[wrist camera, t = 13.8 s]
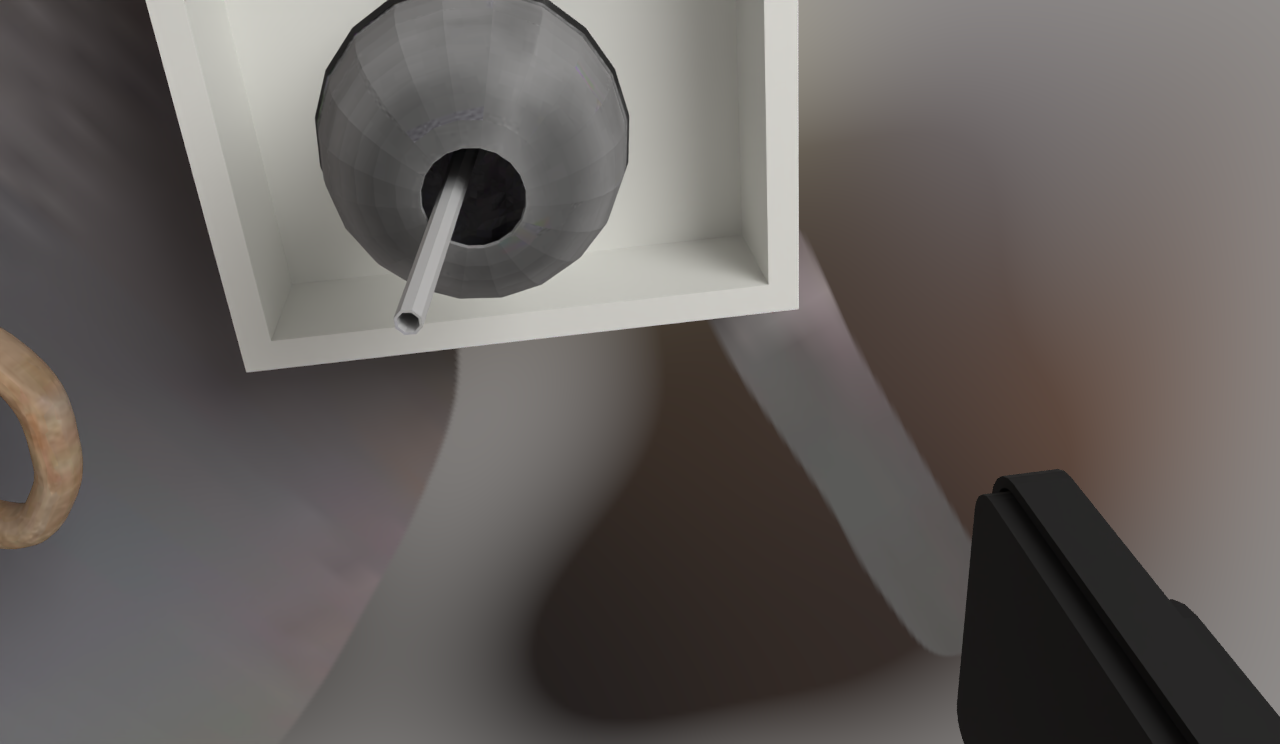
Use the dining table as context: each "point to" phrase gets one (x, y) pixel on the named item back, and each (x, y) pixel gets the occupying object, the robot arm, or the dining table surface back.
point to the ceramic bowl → (39, 445)
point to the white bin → (572, 299)
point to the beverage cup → (471, 145)
